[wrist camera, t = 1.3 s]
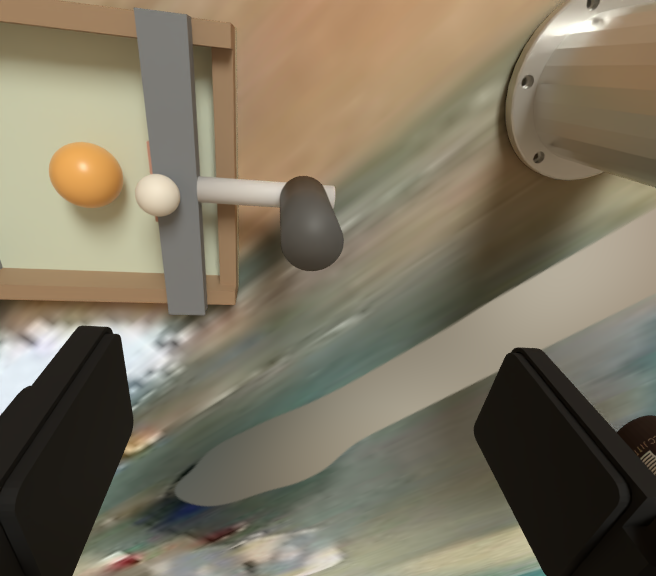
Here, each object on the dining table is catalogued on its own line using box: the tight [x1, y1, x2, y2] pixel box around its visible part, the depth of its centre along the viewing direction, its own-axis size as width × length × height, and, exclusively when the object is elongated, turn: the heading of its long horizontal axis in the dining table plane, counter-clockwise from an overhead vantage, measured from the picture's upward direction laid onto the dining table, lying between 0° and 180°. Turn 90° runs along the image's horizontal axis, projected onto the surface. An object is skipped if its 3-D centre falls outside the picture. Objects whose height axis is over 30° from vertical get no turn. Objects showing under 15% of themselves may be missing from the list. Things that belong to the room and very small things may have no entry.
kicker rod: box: [134, 8, 344, 315], centre depth 23 cm, size 12×18×11 cm, turn 174°
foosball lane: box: [0, 0, 239, 305], centre depth 24 cm, size 22×18×6 cm
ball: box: [49, 142, 123, 208], centre depth 24 cm, size 4×4×4 cm
